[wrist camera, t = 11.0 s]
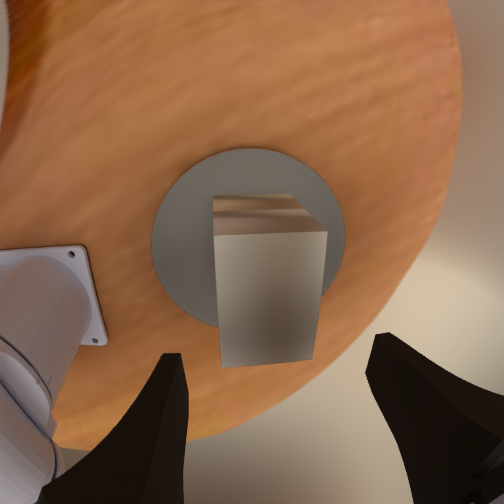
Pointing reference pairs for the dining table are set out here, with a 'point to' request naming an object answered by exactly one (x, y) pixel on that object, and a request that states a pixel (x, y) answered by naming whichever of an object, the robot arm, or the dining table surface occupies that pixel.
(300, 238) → the block
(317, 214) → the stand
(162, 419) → the robot arm
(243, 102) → the dining table surface
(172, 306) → the dining table surface
